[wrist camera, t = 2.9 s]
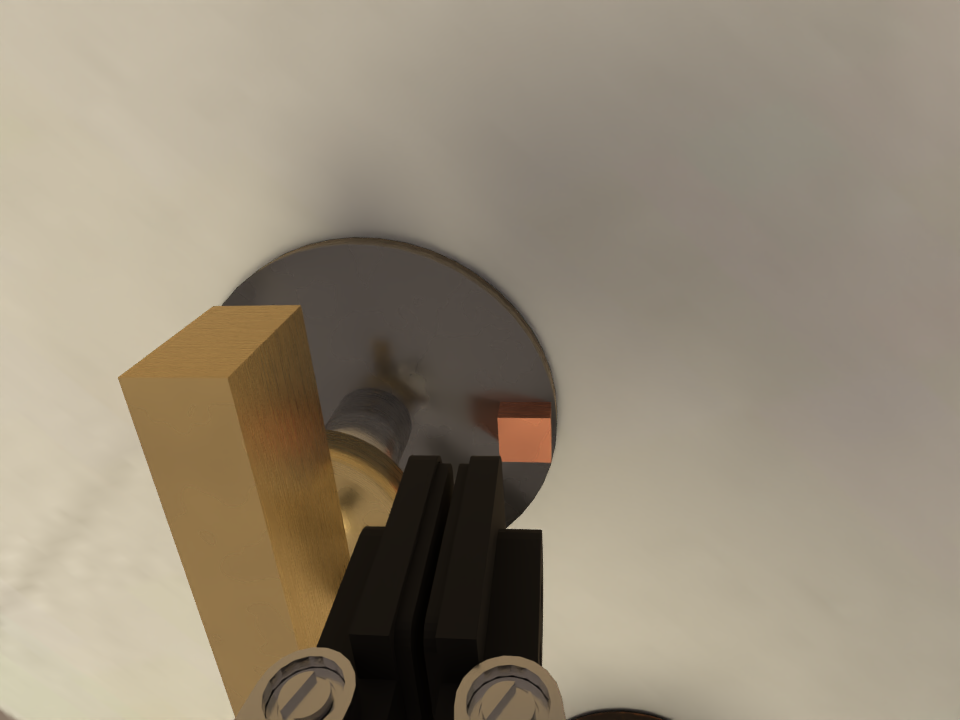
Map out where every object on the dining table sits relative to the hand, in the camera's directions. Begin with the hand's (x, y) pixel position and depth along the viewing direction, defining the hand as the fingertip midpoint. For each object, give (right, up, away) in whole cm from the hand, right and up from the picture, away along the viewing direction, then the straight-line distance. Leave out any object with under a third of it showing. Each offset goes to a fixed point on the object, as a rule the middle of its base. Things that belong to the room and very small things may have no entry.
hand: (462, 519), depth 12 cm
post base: (-4, +1, +16) cm, 16 cm away
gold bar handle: (-5, -2, +10) cm, 11 cm away
